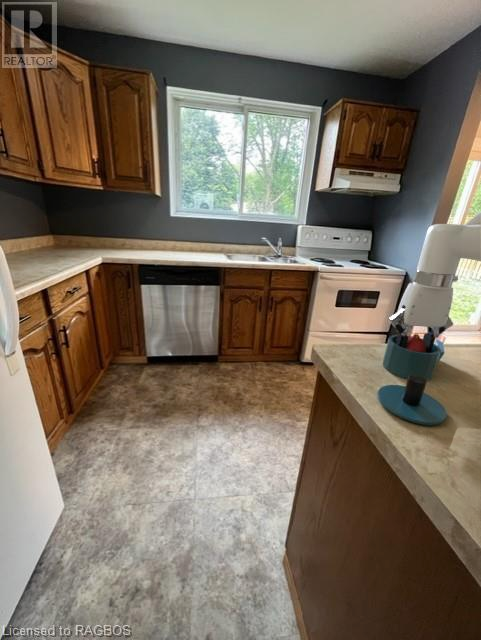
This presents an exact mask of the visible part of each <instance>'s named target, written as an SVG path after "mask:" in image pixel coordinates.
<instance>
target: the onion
mask: <svg viewBox="0 0 481 640" xmlns="http://www.w3.org/2000/svg"><path fill="white" fill-rule="evenodd" d="M410 336H411V337H408V341H407V345H406V348H405V349H408V350H411V351H416V352H421V353H426V345H425V343H424V342H423V340H422V339H423V338H421V337H420V335H419V334H418V333H414V334H413V335H410Z"/></svg>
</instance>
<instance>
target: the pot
mask: <svg viewBox="0 0 481 640" xmlns="http://www.w3.org/2000/svg"><path fill="white" fill-rule="evenodd" d="M397 336H398V334H394V335H391V336H389V337H388V340H387V343H386V347H385V351H384V355H383V360H382V366H383V368H384V369H385V370H386V371H388V372H389V373H390V374H392V375H394V376H397V377H399V378H401V379H403V380H404V379H405V380H408V376H409V375H417V376H420V377H422V378H424V379H425V380H426V381H427V382H428V381H431V380H432V378H433V376H434V374H435V370H436V368H437V365H438V363H439V362H438V359H439V356H440V353H441V349H440V348H439V347H438V346H437V345H435V343H434V344H433V347H432V349H431V352H427V351H426V353H421V352H416V351H411V350H408V349H405V348H402V347H400V346H398V345H396V340H397ZM407 336H408V337H411V336H412V335H407ZM421 339H422V340H423V338H421ZM437 362H438V363H437Z"/></svg>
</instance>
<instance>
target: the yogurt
mask: <svg viewBox="0 0 481 640" xmlns="http://www.w3.org/2000/svg"><path fill="white" fill-rule="evenodd" d="M434 344H435V345H437V346H438V347H439V348H440V349H441V353H440V356H439V359H438V362H437V364H438V363H439V362H440V361H441V359H442V357H443V356H445V346H444V342H443V341H441V340H439V339H436V340H435V341H434Z"/></svg>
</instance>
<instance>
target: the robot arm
mask: <svg viewBox="0 0 481 640" xmlns="http://www.w3.org/2000/svg"><path fill="white" fill-rule="evenodd" d="M422 244H423V245H422V248H421V252H420V257H419V260H418V263H417V266H416V270H415V274H414V278H413V282H409V283H408V284H407V287H406V288H405V291H404V293H403V295H402V297H401V299H400V302H399V305H398V308H397V311H396V312H395V313H394V314H393V315H391V316H390V317H389V318H388V321H389V323H390V324H391V325H392V326H393V328H394V329H395V330H396V332H397V335H398V336H397V340H396V345H398V346H400V347H402V348H406V345H407V341H408V336H409V335H408V334H409V333H410V331H411V330H412V328H413V327H423V328H426V332H424V334H423V336H422V339H423V342H424V343H425V345H426V351H427V352H431V349H432V347H433V344H435V342H436V339H438V338H439V337H440V335H441V334H443V333H444V332H445V331H446V330H448V329H450V328H451V327H453V326H454V322H453V319H451V317H450V316H449V315H450V312H451V308H452V304H453V296H454V288H453V287H452V286H453V283H455V282H458V281H459V276H458V275H456V274H457V270H458V268H459V264H460V261H461V259H467V260H471V261H476V262H481V210H480V211H479V212H478V213H476V214H475V215H474V216H472V218H470V219H469V220H468V221H466V222H465V223H464V224H457V223H436V224H432V225H430V226H429V228H427V231H426V234H425V238H424V241H423V243H422ZM399 321H401V322H400V323H399Z"/></svg>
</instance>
